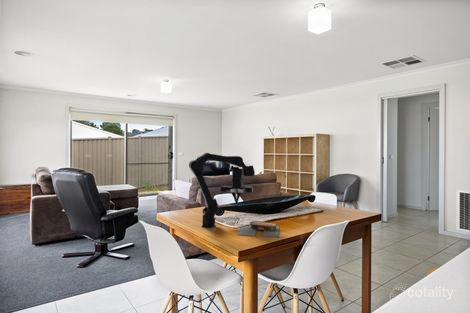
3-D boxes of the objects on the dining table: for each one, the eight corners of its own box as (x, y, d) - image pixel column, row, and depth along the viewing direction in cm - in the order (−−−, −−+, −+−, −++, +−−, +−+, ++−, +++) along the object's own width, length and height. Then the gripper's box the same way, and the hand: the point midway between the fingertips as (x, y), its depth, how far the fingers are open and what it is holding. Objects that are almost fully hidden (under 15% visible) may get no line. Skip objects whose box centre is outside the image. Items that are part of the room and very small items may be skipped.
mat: (237, 235, 145) (237, 234, 145) (242, 224, 164) (242, 224, 164) (278, 237, 141) (278, 236, 141) (279, 226, 161) (279, 225, 161)
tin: (247, 223, 155) (253, 219, 163) (247, 229, 155) (253, 224, 163) (274, 227, 149) (278, 222, 157) (274, 232, 149) (278, 227, 157)
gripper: (254, 176, 172) (253, 201, 173) (224, 175, 175) (224, 200, 176) (252, 178, 161) (251, 205, 162) (220, 177, 164) (220, 203, 165)
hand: (236, 203), depth 166 cm, fingers closed
